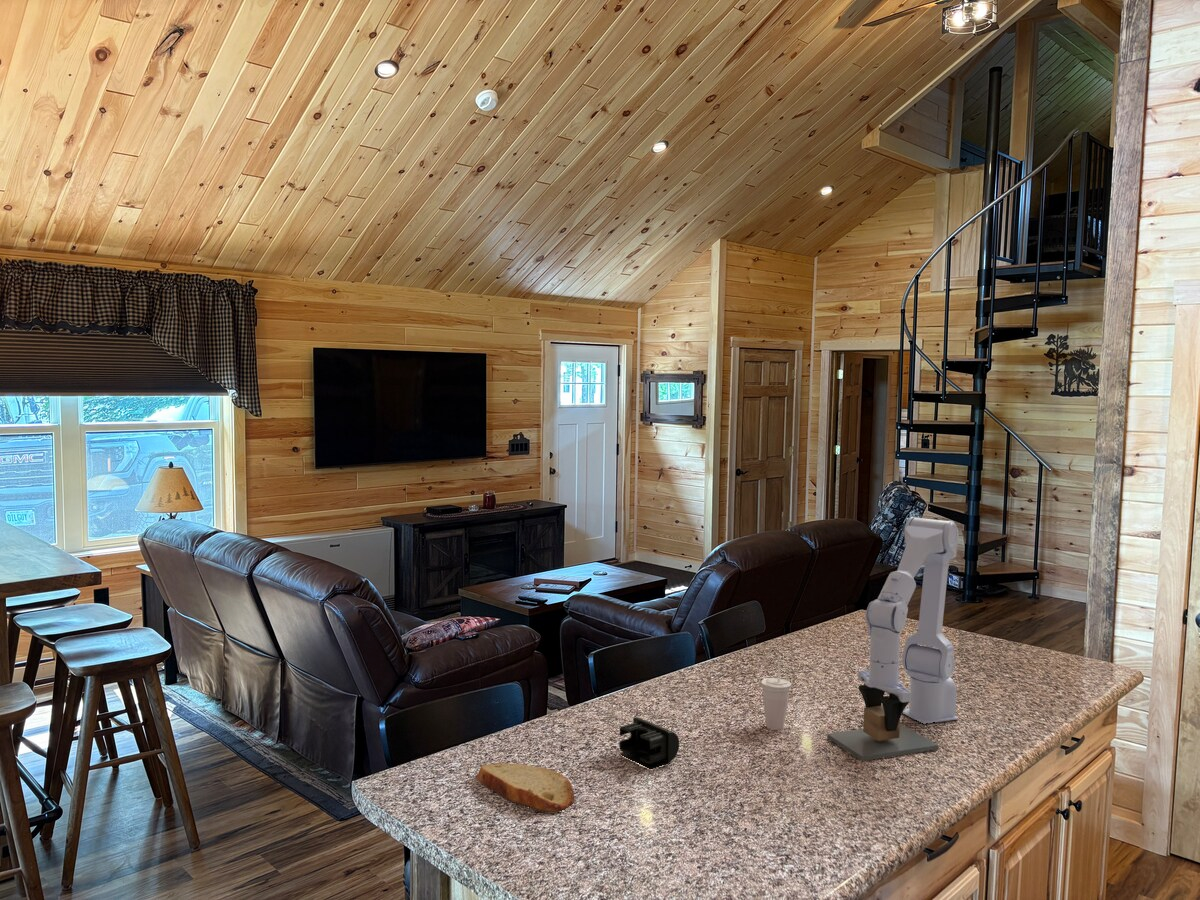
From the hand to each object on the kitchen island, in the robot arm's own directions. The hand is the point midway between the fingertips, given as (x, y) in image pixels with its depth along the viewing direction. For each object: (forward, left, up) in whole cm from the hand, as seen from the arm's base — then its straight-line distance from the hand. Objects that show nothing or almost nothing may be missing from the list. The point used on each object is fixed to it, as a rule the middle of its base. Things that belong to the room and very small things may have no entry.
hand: (882, 725), depth 183 cm
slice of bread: (+75, -2, -4) cm, 75 cm away
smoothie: (+16, -15, -4) cm, 22 cm away
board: (0, 0, -4) cm, 4 cm away
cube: (0, 0, -2) cm, 2 cm away
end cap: (+48, -8, -4) cm, 49 cm away
